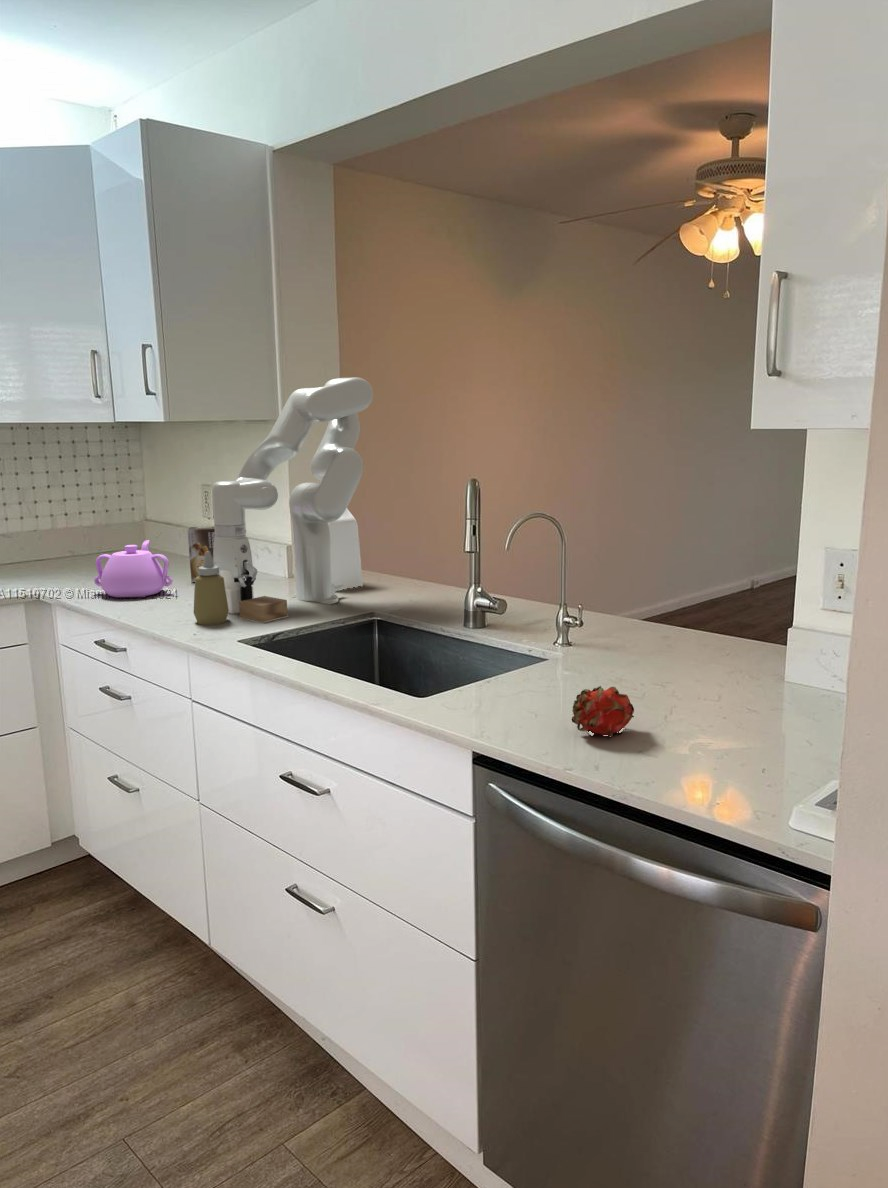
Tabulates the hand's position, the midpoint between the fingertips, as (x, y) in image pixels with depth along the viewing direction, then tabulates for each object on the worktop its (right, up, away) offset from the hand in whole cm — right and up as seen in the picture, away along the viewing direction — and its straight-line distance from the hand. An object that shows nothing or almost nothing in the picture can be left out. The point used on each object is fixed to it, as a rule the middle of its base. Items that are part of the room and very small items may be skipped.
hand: (233, 599), depth 228 cm
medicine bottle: (0, -4, +1) cm, 4 cm away
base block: (+9, -4, -8) cm, 13 cm away
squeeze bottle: (-2, -7, -12) cm, 14 cm away
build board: (+9, -5, -8) cm, 13 cm away
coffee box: (-18, +5, +45) cm, 49 cm away
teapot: (-34, +2, +28) cm, 44 cm away
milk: (+21, +3, +36) cm, 41 cm away
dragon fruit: (+78, -21, -83) cm, 116 cm away
